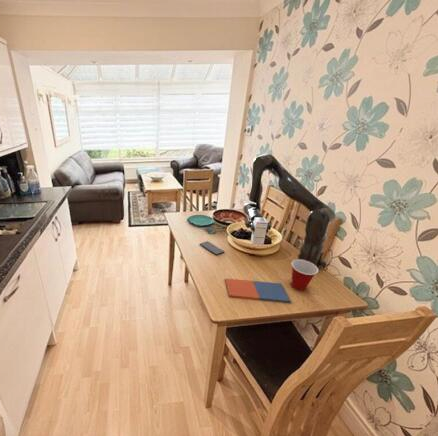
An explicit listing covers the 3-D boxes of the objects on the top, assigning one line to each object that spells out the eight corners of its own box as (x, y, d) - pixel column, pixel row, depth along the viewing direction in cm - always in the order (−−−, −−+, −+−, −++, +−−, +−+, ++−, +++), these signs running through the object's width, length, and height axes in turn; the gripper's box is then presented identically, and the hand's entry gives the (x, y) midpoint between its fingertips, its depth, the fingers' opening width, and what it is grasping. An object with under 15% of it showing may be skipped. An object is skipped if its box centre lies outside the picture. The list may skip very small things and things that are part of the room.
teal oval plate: (204, 215, 195) (204, 212, 194) (228, 230, 169) (228, 227, 168) (183, 219, 188) (183, 216, 187) (204, 235, 163) (205, 232, 162)
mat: (280, 285, 116) (281, 283, 115) (290, 302, 105) (290, 301, 104) (225, 280, 119) (225, 278, 119) (229, 296, 108) (229, 295, 108)
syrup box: (263, 246, 130) (268, 221, 124) (252, 245, 131) (256, 221, 125) (261, 241, 135) (266, 217, 129) (250, 240, 136) (254, 216, 130)
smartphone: (207, 241, 154) (224, 251, 142) (207, 242, 154) (224, 252, 142) (199, 243, 151) (216, 254, 139) (199, 244, 151) (216, 255, 139)
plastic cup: (286, 290, 112) (292, 269, 107) (284, 277, 121) (290, 257, 116) (313, 297, 108) (320, 275, 103) (309, 283, 117) (316, 262, 112)
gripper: (243, 211, 142) (247, 222, 127) (270, 213, 138) (276, 225, 124) (241, 222, 145) (244, 235, 130) (267, 225, 142) (273, 238, 127)
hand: (260, 230), depth 127 cm, fingers closed on syrup box, 6 cm apart
